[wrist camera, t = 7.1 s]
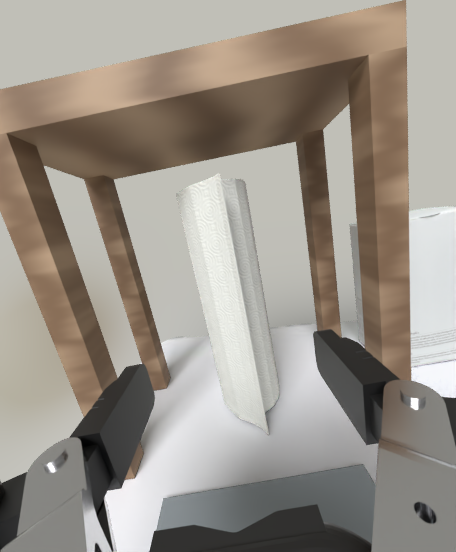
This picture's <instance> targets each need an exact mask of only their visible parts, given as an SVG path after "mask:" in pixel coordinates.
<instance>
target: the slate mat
mask: <svg viewBox="0 0 456 552" xmlns="http://www.w3.org/2000/svg"><path fill="white" fill-rule="evenodd" d="M375 490H376V486H375V484H374V482H373V481H372V479H371V477H370V475H369V474H368V472H367V470H366V469H365V467H364V465H363V464H362V465H356V466H350V467H344V468H339V469H333V470H327V471H321V472H315V473H309V474H304V475H298V476H292V477H286V478H280V479H274V480H268V481H263V482H257V483H251V484H245V485H239V486H233V487H227V488H222V489H216V490H210V491H204V492H198V493H192V494H186V495H181V496H175V497H169V498H163V503H162V507H161V512H160V516H159V521H158V525H157V530H156V531H158V530H164V529H170V528H176V527H182V526H188V525H198V526H203V527H208V528H213V529H218V530H223V531H228V532H238V531H241V530H242V529H244V528H246V527H248V526H250V525H252V524H253V523H255V522H257V521H259V520H261V519H263V518H264V517H266V516H268V515H270V514H272V513H274V512H276V511H279V510H285V509H291V508H297V507H303V506H309V505H315V504H317V505H318V508H319V511H320V514H321V517H322V520H323V522H328V523H332V524H335V525H338V526H341V527H344V528H346V529H348V530H350V531H352V532H354V533H356V534H358V535H359V536H361V537H362V538H364V539H366V540H367V541H369V542H370V543H371V544H372V535H373V520H374V505H375Z"/></svg>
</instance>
